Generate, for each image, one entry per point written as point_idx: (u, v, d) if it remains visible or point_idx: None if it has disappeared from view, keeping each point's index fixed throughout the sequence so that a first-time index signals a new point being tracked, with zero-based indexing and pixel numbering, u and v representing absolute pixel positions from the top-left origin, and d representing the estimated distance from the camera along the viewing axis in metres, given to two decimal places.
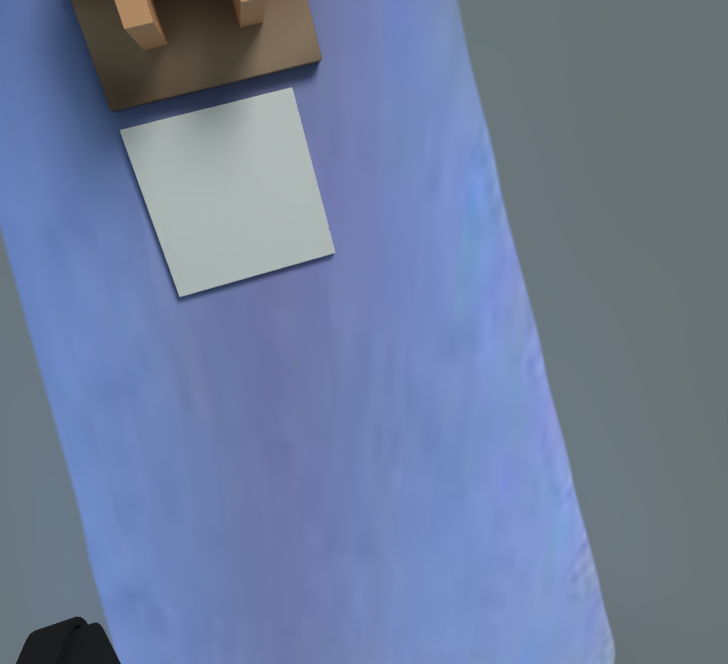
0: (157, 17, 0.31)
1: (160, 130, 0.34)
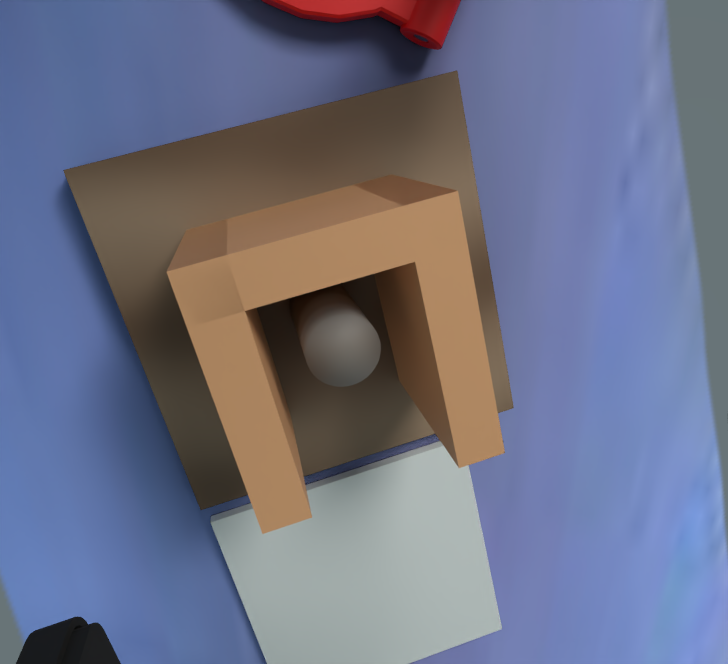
0: (285, 405, 0.19)
1: None
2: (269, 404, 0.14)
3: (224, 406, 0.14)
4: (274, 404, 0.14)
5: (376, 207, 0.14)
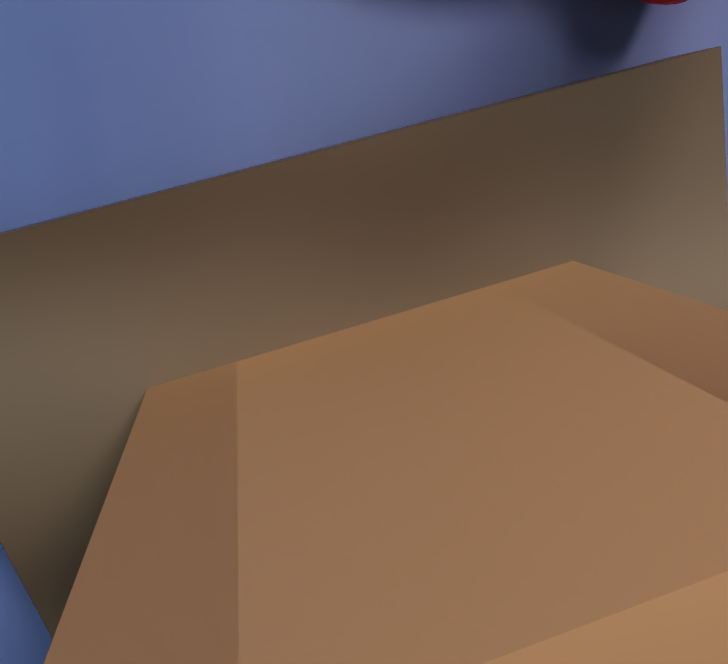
0: None
1: None
2: None
3: None
4: None
5: None
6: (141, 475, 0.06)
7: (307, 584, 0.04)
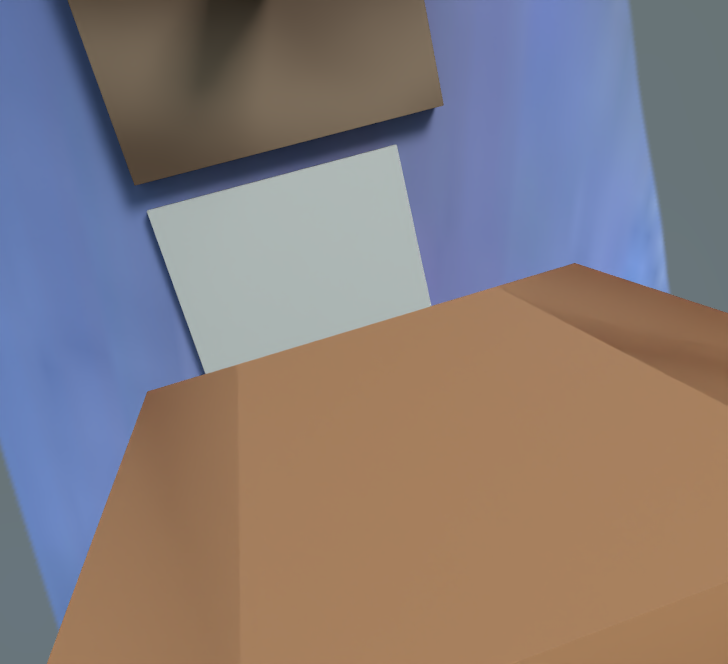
0: None
1: (206, 209, 0.23)
2: None
3: None
4: None
5: None
6: (142, 479, 0.06)
7: (309, 591, 0.04)
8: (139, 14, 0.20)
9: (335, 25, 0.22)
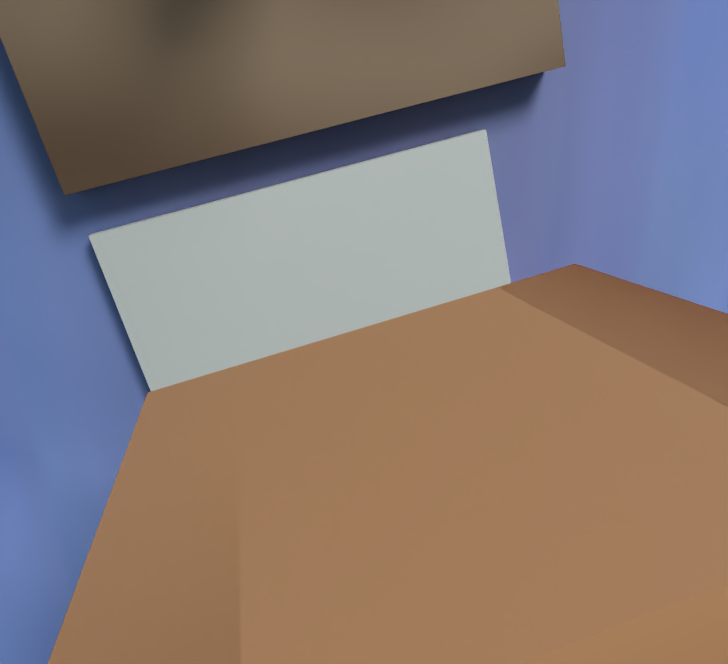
0: None
1: (185, 233, 0.14)
2: None
3: None
4: None
5: None
6: (142, 481, 0.06)
7: (309, 593, 0.04)
8: None
9: None
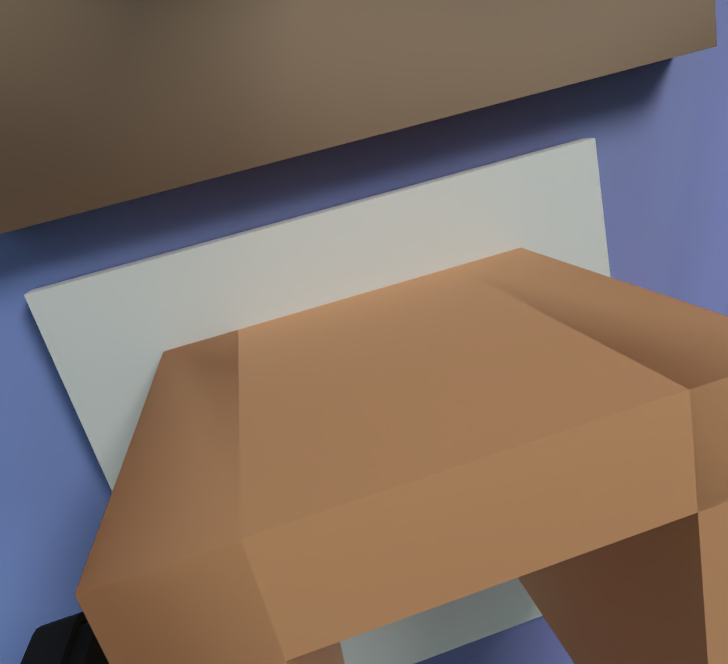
0: (336, 649, 0.11)
1: (167, 289, 0.10)
2: None
3: None
4: None
5: (596, 376, 0.06)
6: (164, 407, 0.08)
7: (288, 458, 0.06)
8: None
9: None
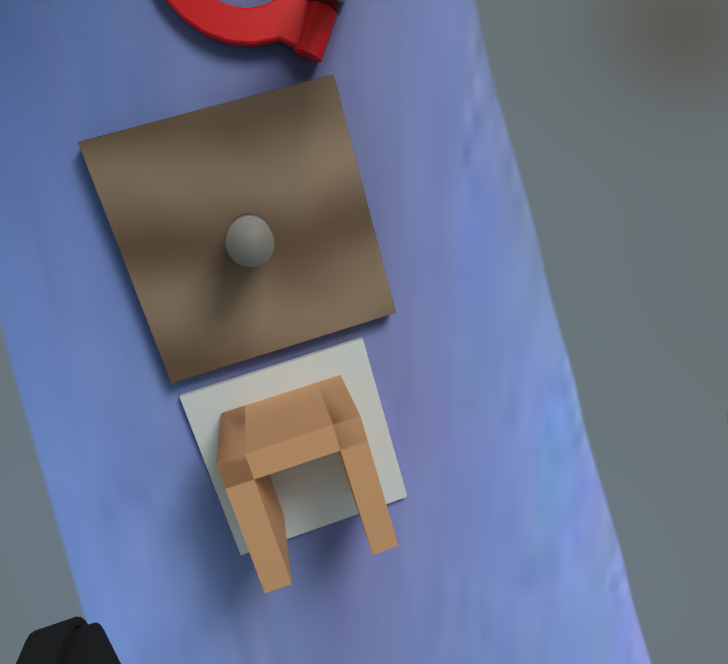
0: (279, 513, 0.32)
1: (223, 393, 0.32)
2: (267, 524, 0.27)
3: (244, 526, 0.27)
4: (270, 524, 0.27)
5: (320, 422, 0.27)
6: (225, 430, 0.29)
7: (255, 440, 0.27)
8: (175, 271, 0.29)
9: (314, 266, 0.30)
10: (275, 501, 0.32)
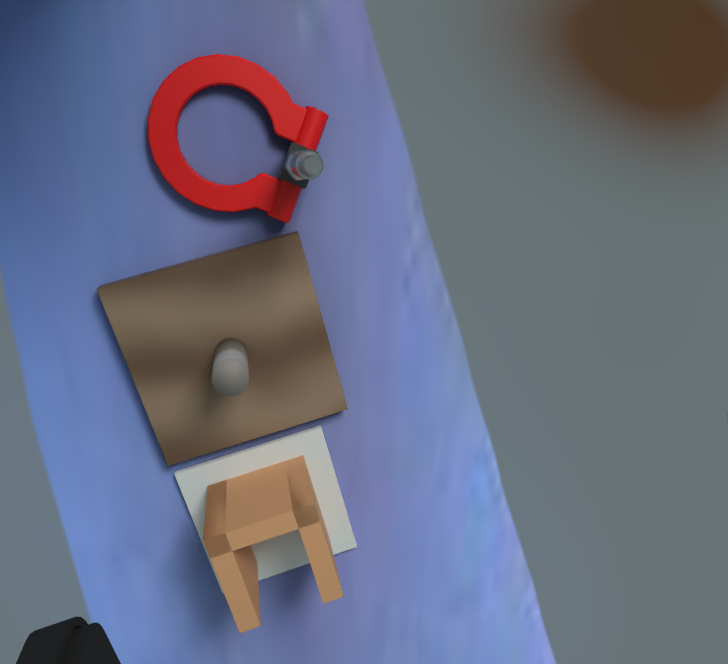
0: (253, 563, 0.41)
1: (208, 470, 0.40)
2: (242, 583, 0.36)
3: (224, 585, 0.35)
4: (244, 583, 0.36)
5: (284, 506, 0.36)
6: (210, 505, 0.38)
7: (233, 520, 0.35)
8: (172, 382, 0.37)
9: (282, 376, 0.38)
10: (250, 555, 0.40)
